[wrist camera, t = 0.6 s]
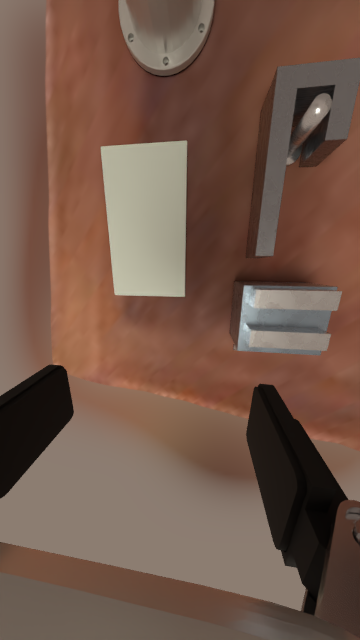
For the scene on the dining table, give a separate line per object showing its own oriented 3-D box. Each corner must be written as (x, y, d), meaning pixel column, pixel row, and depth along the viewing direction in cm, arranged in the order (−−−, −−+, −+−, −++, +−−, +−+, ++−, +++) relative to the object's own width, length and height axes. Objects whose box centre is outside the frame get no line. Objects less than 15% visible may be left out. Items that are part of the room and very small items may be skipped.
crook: (260, 111, 26) (277, 66, 20) (327, 105, 25) (364, 57, 19) (245, 258, 31) (255, 255, 26) (299, 258, 30) (321, 256, 25)
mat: (101, 148, 29) (100, 146, 29) (187, 142, 28) (186, 140, 27) (115, 294, 36) (114, 295, 36) (184, 296, 35) (184, 296, 34)
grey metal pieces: (247, 139, 27) (273, 64, 17) (334, 133, 26) (417, 48, 16) (229, 338, 36) (239, 365, 26) (292, 341, 35) (329, 371, 25)
